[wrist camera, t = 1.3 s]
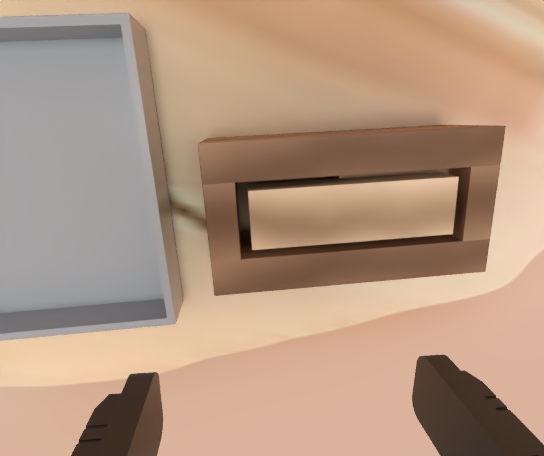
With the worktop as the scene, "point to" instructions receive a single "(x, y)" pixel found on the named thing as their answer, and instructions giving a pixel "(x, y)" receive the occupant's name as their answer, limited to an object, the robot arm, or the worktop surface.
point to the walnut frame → (346, 164)
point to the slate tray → (81, 180)
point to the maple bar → (351, 209)
